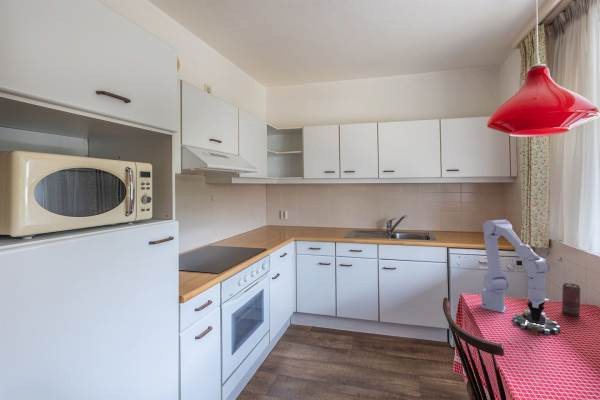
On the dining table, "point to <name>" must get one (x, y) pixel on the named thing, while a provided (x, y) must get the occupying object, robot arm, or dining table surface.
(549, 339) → the dining table surface
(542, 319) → the gray speaker cabinet
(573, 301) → the can
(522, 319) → the sprocket
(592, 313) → the dining table surface
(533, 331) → the brown rectangular block
